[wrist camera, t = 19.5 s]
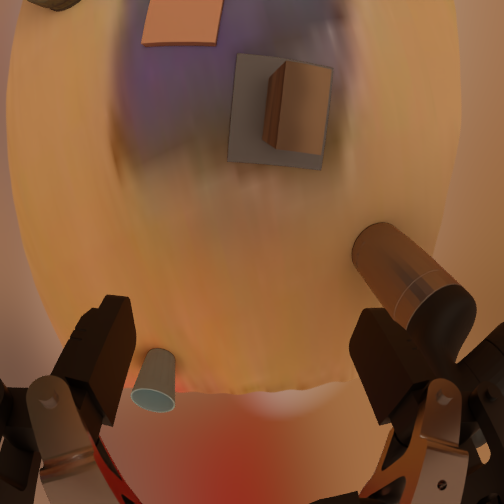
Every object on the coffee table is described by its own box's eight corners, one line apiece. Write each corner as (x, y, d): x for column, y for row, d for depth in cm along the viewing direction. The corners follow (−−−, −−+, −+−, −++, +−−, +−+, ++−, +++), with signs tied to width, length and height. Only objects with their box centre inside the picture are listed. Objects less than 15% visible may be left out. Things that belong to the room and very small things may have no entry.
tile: (216, 47, 27) (227, -14, 23) (215, 42, 25) (227, -21, 21) (146, 47, 26) (159, -13, 22) (141, 43, 24) (155, -20, 19)
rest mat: (332, 68, 29) (333, 68, 28) (319, 169, 35) (321, 170, 34) (237, 54, 27) (237, 53, 27) (227, 160, 34) (227, 161, 33)
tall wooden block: (301, 82, 29) (331, 69, 19) (293, 143, 33) (320, 155, 23) (268, 77, 29) (286, 60, 19) (262, 139, 32) (276, 149, 22)
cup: (141, 365, 50) (132, 407, 40) (141, 340, 46) (129, 384, 37) (178, 372, 51) (173, 415, 42) (181, 348, 48) (175, 394, 39)
